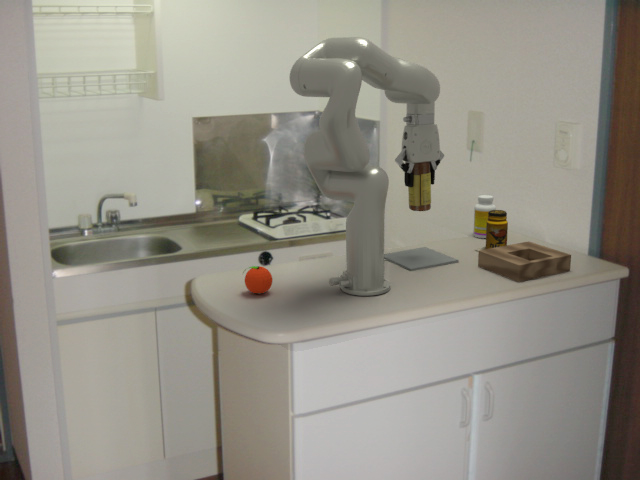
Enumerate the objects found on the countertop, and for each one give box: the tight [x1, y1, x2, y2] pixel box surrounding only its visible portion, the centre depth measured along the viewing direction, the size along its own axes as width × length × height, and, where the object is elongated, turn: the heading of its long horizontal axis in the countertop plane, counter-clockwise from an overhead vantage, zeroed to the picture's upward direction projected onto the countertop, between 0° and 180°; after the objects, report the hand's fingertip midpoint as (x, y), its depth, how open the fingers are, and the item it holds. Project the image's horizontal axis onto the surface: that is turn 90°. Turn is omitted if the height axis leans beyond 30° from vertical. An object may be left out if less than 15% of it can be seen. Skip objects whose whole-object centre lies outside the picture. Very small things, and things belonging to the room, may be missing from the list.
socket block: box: [477, 240, 572, 283], centre depth 202 cm, size 18×16×4 cm
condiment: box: [475, 209, 509, 252], centre depth 219 cm, size 7×8×12 cm
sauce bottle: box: [408, 162, 432, 212], centre depth 207 cm, size 7×6×20 cm
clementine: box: [242, 265, 273, 294], centre depth 187 cm, size 8×7×7 cm
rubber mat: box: [384, 246, 459, 272], centre depth 213 cm, size 16×16×1 cm
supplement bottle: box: [473, 194, 497, 239], centre depth 234 cm, size 7×7×13 cm
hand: (419, 184), depth 208 cm, fingers closed on sauce bottle, 6 cm apart
